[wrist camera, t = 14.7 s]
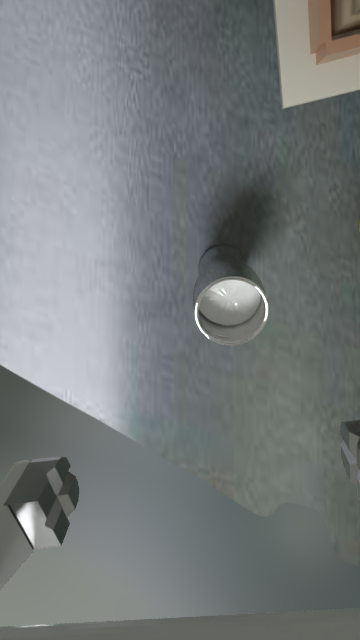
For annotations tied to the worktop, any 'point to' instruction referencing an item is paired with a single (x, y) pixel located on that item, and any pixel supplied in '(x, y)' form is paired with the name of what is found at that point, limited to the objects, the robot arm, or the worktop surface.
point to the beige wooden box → (344, 16)
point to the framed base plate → (313, 53)
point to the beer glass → (229, 297)
